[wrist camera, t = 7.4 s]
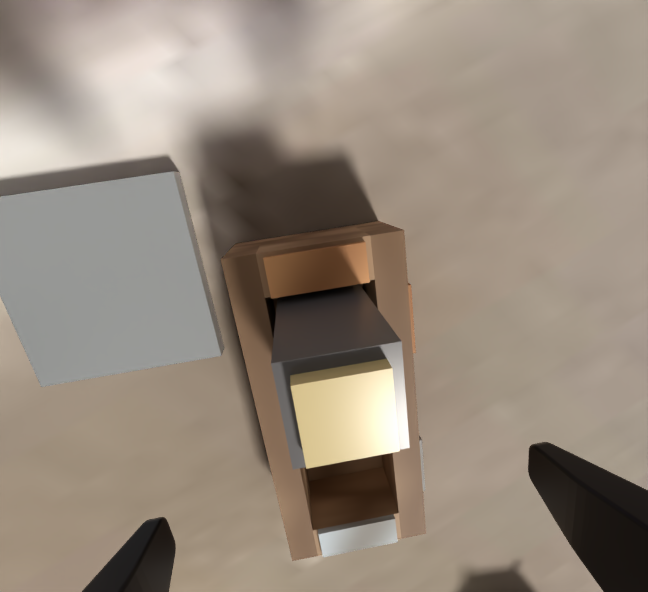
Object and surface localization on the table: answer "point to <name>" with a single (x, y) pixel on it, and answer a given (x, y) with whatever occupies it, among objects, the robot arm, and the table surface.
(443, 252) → the table surface
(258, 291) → the socket strip
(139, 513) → the table surface
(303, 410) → the plug
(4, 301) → the deck
